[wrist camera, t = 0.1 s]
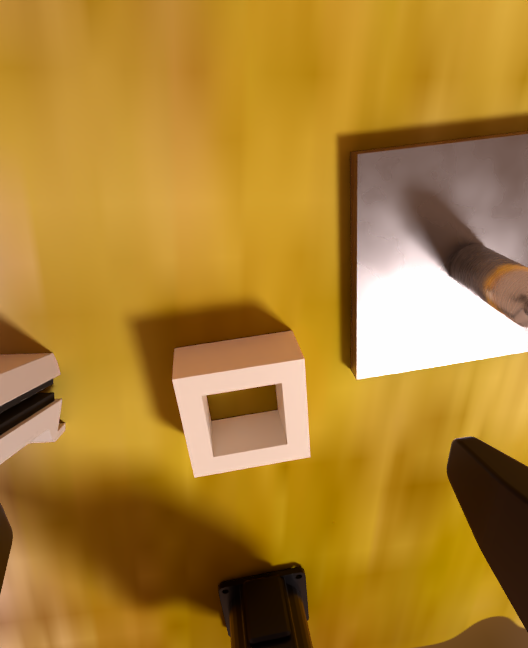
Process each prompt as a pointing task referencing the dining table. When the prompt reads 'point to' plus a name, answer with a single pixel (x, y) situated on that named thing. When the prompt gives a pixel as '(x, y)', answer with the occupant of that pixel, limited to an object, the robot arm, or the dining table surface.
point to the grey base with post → (438, 253)
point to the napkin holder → (27, 402)
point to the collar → (236, 374)
